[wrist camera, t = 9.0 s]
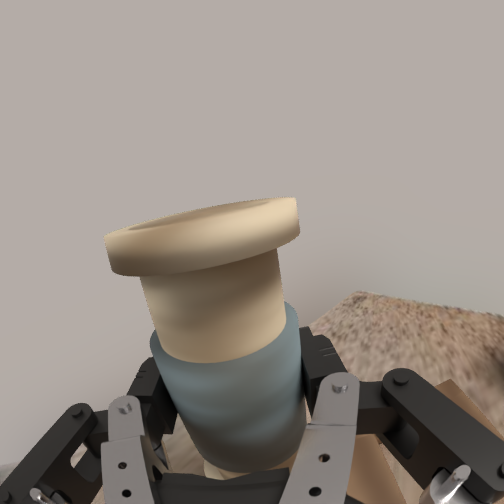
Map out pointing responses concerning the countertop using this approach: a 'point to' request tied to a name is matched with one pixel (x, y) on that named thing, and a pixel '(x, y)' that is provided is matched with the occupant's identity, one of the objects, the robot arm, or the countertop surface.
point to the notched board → (376, 467)
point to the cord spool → (223, 328)
